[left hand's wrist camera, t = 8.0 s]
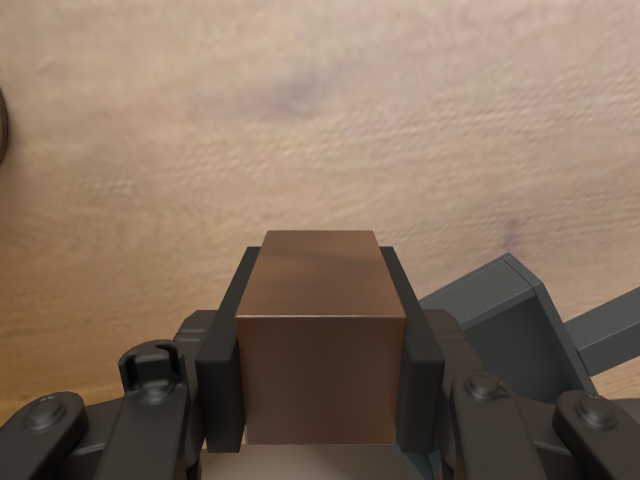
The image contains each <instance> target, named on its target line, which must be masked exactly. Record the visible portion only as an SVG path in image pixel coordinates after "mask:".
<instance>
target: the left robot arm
mask: <svg viewBox="0 0 640 480" xmlns="http://www.w3.org/2000/svg"><path fill="white" fill-rule="evenodd" d="M6 141H7V118H6V112H5V107H4V103H3V100H2V97H1V94H0V161H1V159H2V157H3V154H4V151H5V147H6ZM379 248H380V250H381V253H382V256H383V258H384V261H385V263H386V266H387V268H388V271H389V273H390V276H391V278H392V281H393V284H394V286H395V289H396V291H397V294H398V296H399V299H400V301H401V304H402V306H403V309H404V312H405V314H406V317H407V321H406V332H405V337H404V338H403V346H402V357H401V367H400V378H399V389H398V400H397V411H396V422H395V427H396V431H397V436H398V440H399V445H400V449H401V453H433V446H434V439H435V437H436V440H437V443H438V446H439V449H440V452H441V455H440V461H439V468H438V474H437V480H640V425H639V424H638V423H637V422H636V421H635V420H634V419H633V418H632V417H631V416H630V415H629V414H628V413H627V412H625V411H624V410H623V409H622V408H620V407H619V406H618V405H616V404H615V403H614V402H612V401H610V400H608V399H606V398H604V397H602V396H600V395H597V394H594V393H590V392H587V391H580V390H570V391H566V392H563V393H562V394H561V395H560V396H559V397H558V399H557V403H556V405H553V404H549V403H544V402H540V401H535V400H531V399H527V398H524V397H521V396H518V395H516V394H515V392H514V390H513V389H512V387H511V386H510V384H509V383H507V382H506V381H505V380H504V379H503V378H501V377H500V376H498V375H495V374H493V373H491V372H489V371H487V370H486V368H485V367H484V365H483V363H482V361H481V360H480V358H479V356H478V355H477V353H476V351H475V350H474V348H473V346H472V345H471V343H470V341H469V340H467V336H466V335H465V333H464V331H462V328H461V326H460V325H459V323H458V321H457V320H456V318H455V317H453V316H452V315H451V314H449V313H448V312H447V311H445V310H444V309H422V308H421V306H420V304H419V302H418V300H417V298H416V296H415V294H414V291H413V289H412V287H411V285H410V283H409V281H408V279H407V276H406V274H405V272H404V270H403V268H402V266H401V264H400V261H399V259H398V257H397V255H396V253H395V251H394V249H393V247H379ZM260 249H261V247H247V249H246V251H245V253H244V256H243V258H242V260H241V262H240V264H239V266H238V268H237V271H236V273H235V275H234V277H233V279H232V281H231V283H230V286H229V288H228V290H227V292H226V294H225V296H224V298H223V300H222V303H221V305H220V307H219V309H218V310H197V311H195V312H194V313H193V314H191V315H190V316H189V317H187V318H186V319H185V320H184V322H183V323H182V325H181V327H180V328H179V330H178V332H177V333H176V335H175V337H174V339H173V341H171V340H153V341H149V342H144V343H142V344H140V345H137V346H135V347H133V348H131V349H130V350H129V351H127V352H126V353H125V354H123V356H122V357H121V358H120V360H119V361H118V366H119V370H120V375H121V379H122V383H123V388H124V392H125V394H124V397H121V398H118V399H115V400H112V401H107V402H103V403H99V404H94V405H90V406H86V407H85V405H84V402H83V399H82V398H81V397H80V396H79V395H78V394H77V393H72V392H68V391H67V392H57V393H52V394H49V395H46V396H43V397H40V398H38V399H36V400H34V401H32V402H30V403H29V404H27V405H25V406H24V407H23V408H21V409H20V410H19V411H18V412H16V413H15V414H14V415H13V416H12V417H11V418H10V419H9V420H8V421H7V422H6V423H5V424H4V425H3V426H2V427H1V428H0V480H201V472H202V468H201V461H200V451H201V449H202V446H203V443H204V440H205V437H206V444H207V451H208V453H239V450H240V446H241V441H242V437H243V432H244V428H245V419H244V408H243V397H242V386H241V375H240V364H239V353H238V342H237V337H236V331H235V320H234V317H235V314H236V312H237V309H238V306H239V304H240V301H241V299H242V296H243V293H244V291H245V288H246V285H247V283H248V280H249V278H250V275H251V272H252V270H253V267H254V265H255V262H256V259H257V257H258V254H259V251H260Z"/></svg>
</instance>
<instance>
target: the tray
mask: <svg viewBox="0 0 640 480" xmlns="http://www.w3.org/2000/svg"><path fill="white" fill-rule="evenodd" d="M418 302H419V304H420V306H421V308H422V309H444V310H445V311H447V312H448V313H449V314H451V315H452V316H453V317H455V318H456V320H457V321H458V323H459V325H460V326H461V328H462V331H464V333H465V335H466V336H467V340H469V341H470V343H471V345H472V346H473V348H474V350H475V351H476V353H477V355H478V356H479V358H480V360H481V361H482V363H483V365H484V367H485V368H486V370H487V371H489V372H491V373H493V374H495V375H498V376H500V377H501V378H503V379H504V380H505V381H506V382H507V383H509V384H510V386H511V387H512V389H513V390H514V392H515V394H516V395H518V396H521V397H524V398H527V399H531V400H535V401H540V402H544V403H549V404H553V405H556V403H557V399H558V397H559V396H560V395H561V394H562V393H563V392H566V391H570V390H580V391H587V392H590V393H594V394H597V395H598V393H597V391H596V389H595V387H594V385H593V383H592V381H591V379H590V377H589V376H591V377H592V376H595V375H597V374H599V373H601V372H604V371H606V370H608V369H610V368H613V367H615V366H617V365H619V364H622V363H624V362H626V361H629V360H631V359H633V358H635V357H638V356H640V287H638V288H636V289H634V290H632V291H630V292H628V293H626V294H624V295H622V296H619V297H617V298H615V299H613V300H611V301H609V302H607V303H605V304H603V305H601V306H599V307H596V308H594V309H592V310H590V311H588V312H586V313H584V314H582V315H580V316H578V317H576V318H573V319H571V320H569V321H567V322H565V323H563V322H562V320H561V318H560V316H559V314H558V312H557V310H556V308H555V306H554V304H553V302H552V300H551V298H550V296H549V294H548V292H547V290H546V288H545V286H544V284H543V282H542V281H541V280H540V279H538V278H537V277H536V276H535V275H534V274H533V273H532V272H531V271H529V270H528V269H527V268H526V267H525V266H524V265H523V264H522V263H520V262H519V261H518V260H517V259H516V258H515V257H514V256H513V255H511V254H510V253H506V254H505V255H503V256H501V257H499V258H497V259H495V260H493V261H491V262H490V263H488V264H486V265H484V266H482V267H480V268H478V269H476V270H475V271H473V272H471V273H469V274H467V275H465V276H463V277H462V278H460V279H458V280H456V281H454V282H452V283H450V284H448V285H447V286H445V287H443V288H441V289H439V290H437V291H435V292H433V293H432V294H430V295H428V296H426V297H424V298H422V299H420V300H419V301H418ZM388 446H389V447H390V449H391V450H392V451H393V452H394V454H395V455H396V456H397V457H398V458H399V460H400V461H401V462H402V463H403V465H404V466H405V467H406V468H407V470H408V471H409V472H410V473H411V474H412V476H413V477H414V478H415V479H416V480H437V474H438V468H439V461H440V455H441V452H440V449H439V446H438V443H437V440H436V437H435V439H434V446H433V453H401V449H400V445H399V440H398V436H397V431H396V437H395V443H394V444H393V445H388Z"/></svg>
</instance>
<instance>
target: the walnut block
mask: <svg viewBox="0 0 640 480" xmlns="http://www.w3.org/2000/svg"><path fill="white" fill-rule="evenodd" d="M234 320H235V331H236V337H237V342H238V353H239V364H240V375H241V386H242V397H243V408H244V419H245V428H244V431H245V441H246V444H248V445H393V444H394V443H395V437H396V427H395V422H396V411H397V400H398V389H399V378H400V367H401V357H402V346H403V338H404V337H405V332H406V321H407V317H406V314H405V312H404V309H403V306H402V304H401V301H400V299H399V296H398V294H397V291H396V289H395V286H394V284H393V281H392V278H391V276H390V273H389V271H388V268H387V266H386V263H385V261H384V258H383V256H382V253H381V250H380V248H379V245H378V243H377V240H376V238H375V235H374V233H373V231H267V233H266V236H265V238H264V241H263V244H262V246H261V249H260V251H259V254H258V257H257V259H256V262H255V265H254V267H253V270H252V272H251V275H250V278H249V280H248V283H247V285H246V288H245V291H244V293H243V296H242V299H241V301H240V304H239V306H238V309H237V312H236V314H235V317H234Z"/></svg>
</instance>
